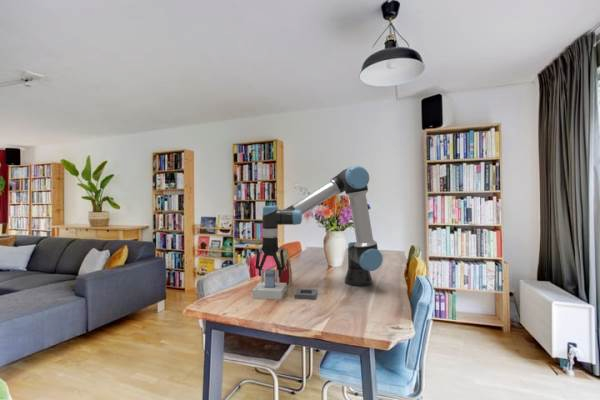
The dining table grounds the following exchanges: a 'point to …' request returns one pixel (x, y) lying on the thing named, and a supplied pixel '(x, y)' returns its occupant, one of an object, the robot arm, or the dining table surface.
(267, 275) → the plug
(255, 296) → the port
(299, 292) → the dark grey square base
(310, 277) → the dining table surface
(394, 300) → the dining table surface
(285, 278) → the milk carton
